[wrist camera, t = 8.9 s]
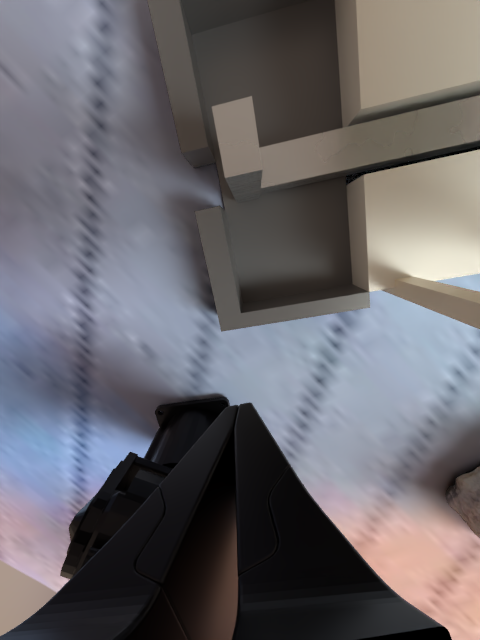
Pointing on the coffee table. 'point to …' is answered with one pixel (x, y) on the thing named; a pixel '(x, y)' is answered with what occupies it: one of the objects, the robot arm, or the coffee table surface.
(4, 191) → the coffee table surface
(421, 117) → the slider
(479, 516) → the geode
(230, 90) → the track
